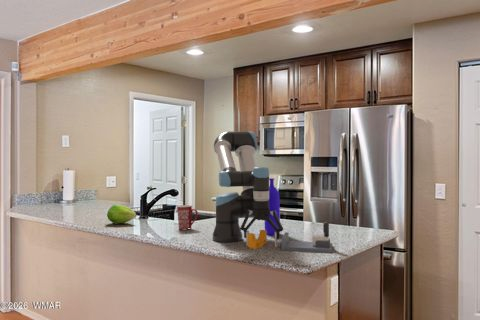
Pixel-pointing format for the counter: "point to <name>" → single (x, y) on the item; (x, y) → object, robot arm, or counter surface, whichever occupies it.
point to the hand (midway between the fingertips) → (261, 245)
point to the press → (304, 245)
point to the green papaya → (120, 214)
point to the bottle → (273, 207)
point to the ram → (322, 237)
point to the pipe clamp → (260, 241)
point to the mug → (185, 216)
